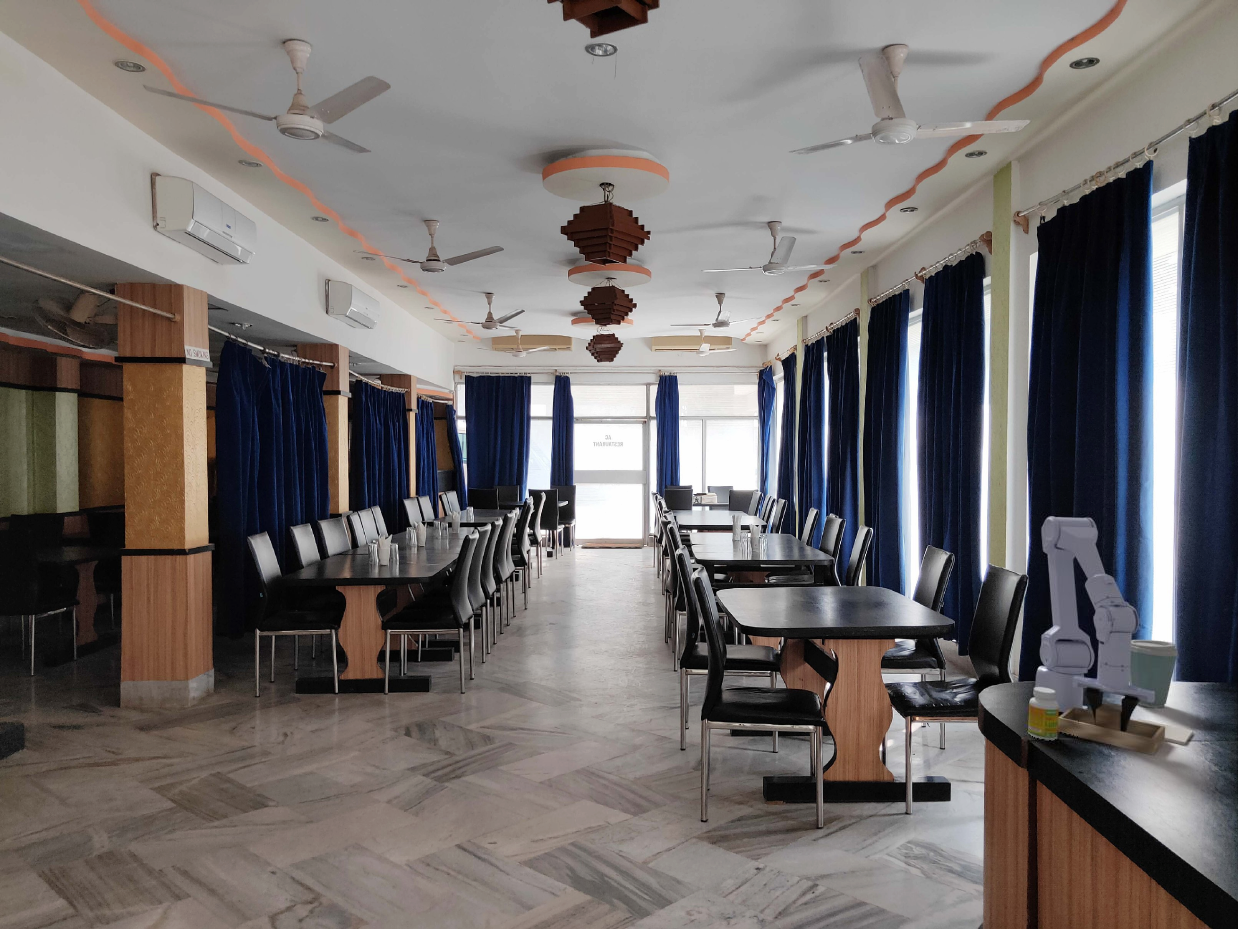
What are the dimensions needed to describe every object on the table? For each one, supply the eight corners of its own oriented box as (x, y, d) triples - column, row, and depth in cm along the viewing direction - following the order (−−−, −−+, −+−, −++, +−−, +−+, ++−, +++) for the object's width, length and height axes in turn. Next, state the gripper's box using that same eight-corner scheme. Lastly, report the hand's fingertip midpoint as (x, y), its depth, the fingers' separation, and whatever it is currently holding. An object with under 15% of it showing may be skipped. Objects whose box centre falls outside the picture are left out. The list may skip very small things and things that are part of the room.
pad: (1127, 732, 172) (1128, 729, 172) (1137, 721, 179) (1138, 718, 179) (1184, 745, 165) (1185, 742, 165) (1192, 733, 172) (1192, 730, 172)
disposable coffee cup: (1120, 704, 191) (1123, 641, 190) (1123, 694, 200) (1126, 633, 199) (1175, 714, 185) (1178, 649, 184) (1175, 703, 193) (1178, 640, 193)
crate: (1057, 731, 170) (1058, 717, 170) (1071, 719, 179) (1072, 706, 179) (1153, 755, 159) (1154, 739, 159) (1164, 741, 167) (1165, 726, 167)
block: (1094, 738, 167) (1096, 709, 167) (1104, 729, 173) (1105, 701, 173) (1116, 743, 164) (1118, 714, 164) (1125, 734, 170) (1127, 706, 170)
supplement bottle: (1046, 742, 164) (1048, 695, 164) (1022, 733, 169) (1024, 687, 168) (1063, 739, 166) (1065, 692, 166) (1038, 730, 171) (1040, 684, 171)
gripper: (1069, 659, 170) (1066, 723, 171) (1151, 674, 160) (1147, 742, 161) (1078, 654, 175) (1075, 716, 176) (1158, 668, 166) (1154, 734, 166)
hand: (1110, 728), depth 169 cm, fingers closed on block, 4 cm apart
